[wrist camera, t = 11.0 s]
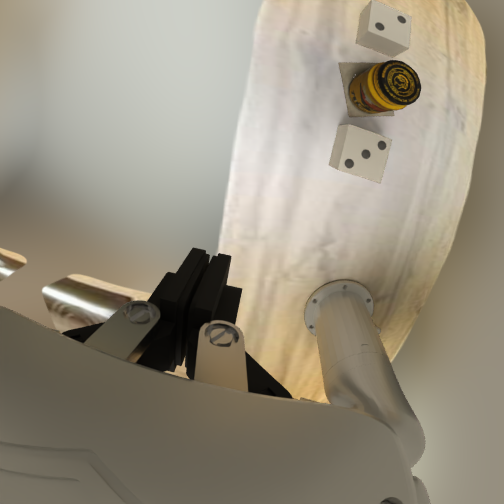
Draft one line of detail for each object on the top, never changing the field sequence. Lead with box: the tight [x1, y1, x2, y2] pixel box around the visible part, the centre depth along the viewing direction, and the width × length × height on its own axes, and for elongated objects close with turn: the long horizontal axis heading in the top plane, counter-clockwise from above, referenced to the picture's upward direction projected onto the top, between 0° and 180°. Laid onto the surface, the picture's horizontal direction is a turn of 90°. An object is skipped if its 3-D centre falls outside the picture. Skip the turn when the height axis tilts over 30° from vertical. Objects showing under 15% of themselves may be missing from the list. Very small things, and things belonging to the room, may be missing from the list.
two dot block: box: [356, 0, 412, 58], centre depth 25 cm, size 6×6×6 cm
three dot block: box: [329, 124, 392, 184], centre depth 33 cm, size 6×6×6 cm
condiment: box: [338, 60, 421, 117], centre depth 26 cm, size 7×8×12 cm
